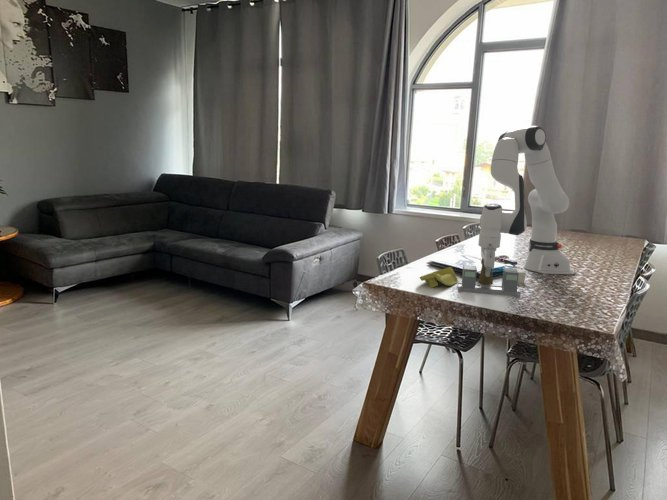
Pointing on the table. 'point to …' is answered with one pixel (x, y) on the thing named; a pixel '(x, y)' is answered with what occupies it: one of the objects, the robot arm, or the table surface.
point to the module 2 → (510, 280)
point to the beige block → (521, 276)
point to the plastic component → (441, 277)
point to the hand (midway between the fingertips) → (486, 273)
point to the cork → (483, 278)
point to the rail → (488, 289)
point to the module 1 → (469, 276)
